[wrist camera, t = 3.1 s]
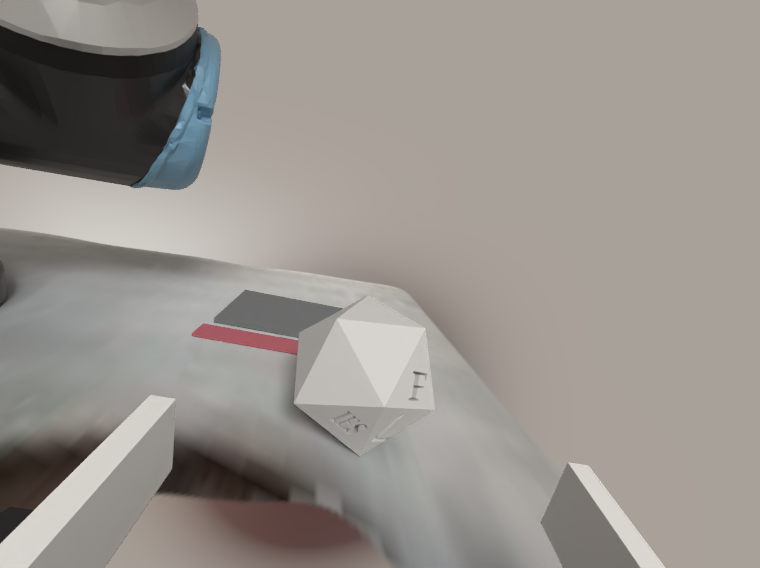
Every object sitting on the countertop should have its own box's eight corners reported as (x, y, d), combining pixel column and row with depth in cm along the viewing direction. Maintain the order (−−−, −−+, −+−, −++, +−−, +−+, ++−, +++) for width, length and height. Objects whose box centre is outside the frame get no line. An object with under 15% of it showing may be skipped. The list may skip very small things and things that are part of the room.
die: (270, 482, 18) (416, 396, 14) (251, 338, 23) (356, 247, 19) (370, 467, 24) (489, 404, 20) (338, 356, 29) (430, 289, 25)
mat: (214, 322, 31) (214, 317, 31) (245, 293, 39) (245, 289, 39) (390, 354, 32) (390, 350, 32) (386, 320, 40) (387, 316, 40)
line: (191, 335, 28) (192, 333, 28) (203, 325, 30) (203, 323, 30) (397, 372, 30) (398, 370, 30) (396, 360, 32) (396, 358, 32)
